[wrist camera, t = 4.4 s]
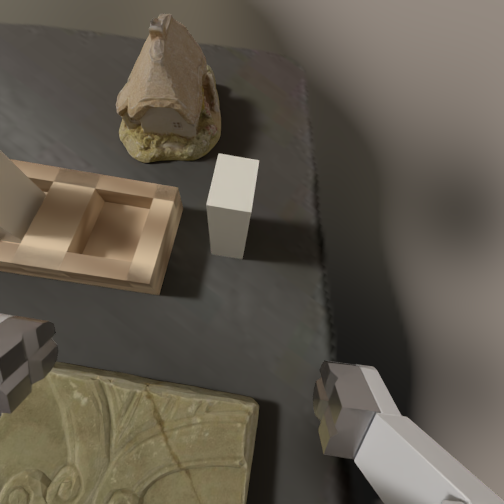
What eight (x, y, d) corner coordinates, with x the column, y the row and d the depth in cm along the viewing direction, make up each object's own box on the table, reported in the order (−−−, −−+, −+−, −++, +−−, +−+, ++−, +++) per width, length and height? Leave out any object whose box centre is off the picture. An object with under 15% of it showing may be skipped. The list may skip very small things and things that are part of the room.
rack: (159, 295, 23) (149, 284, 20) (-42, 264, 23) (-85, 248, 19) (183, 208, 27) (177, 187, 24) (11, 180, 26) (-19, 154, 23)
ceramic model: (216, 172, 29) (213, 84, 20) (111, 160, 29) (59, 64, 19) (227, 87, 35) (229, -12, 26) (140, 75, 34) (110, -31, 25)
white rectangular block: (242, 259, 26) (251, 212, 18) (211, 254, 25) (206, 204, 18) (248, 219, 27) (259, 160, 20) (219, 214, 27) (218, 153, 19)
